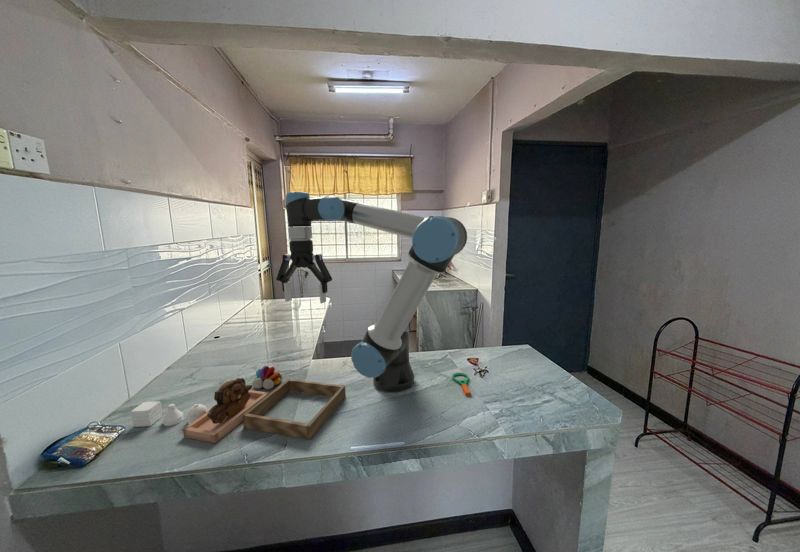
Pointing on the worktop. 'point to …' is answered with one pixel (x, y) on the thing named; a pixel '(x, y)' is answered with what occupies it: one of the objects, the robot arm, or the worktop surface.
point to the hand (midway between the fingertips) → (305, 301)
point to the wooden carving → (229, 400)
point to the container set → (153, 411)
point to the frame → (292, 428)
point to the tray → (214, 432)
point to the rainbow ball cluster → (267, 378)
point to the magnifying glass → (462, 382)
